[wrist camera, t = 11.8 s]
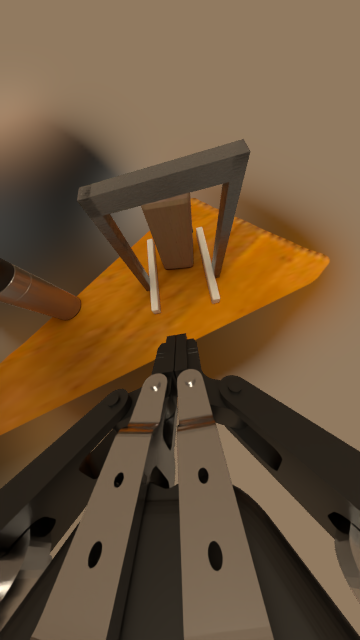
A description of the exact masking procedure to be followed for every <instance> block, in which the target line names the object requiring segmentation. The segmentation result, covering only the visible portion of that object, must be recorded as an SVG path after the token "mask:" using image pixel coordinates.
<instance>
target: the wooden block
mask: <svg viewBox="0 0 360 640" xmlns="http://www.w3.org/2000/svg"><path fill="white" fill-rule="evenodd" d="M141 207H142V210H143V213H144V215H145V218H146V221H147V223H148V226H149V228H150V231H151V234H152V236H153V239H154V242H155V244H156V247H157V249H158V252H159V255H160V257H161V260H162V262H163V265H164V267H165V269H174V268H186V267H192V265H193V238H192V220H191V202H190V193H186V194H182V195H179V196H175V197H171V198H167V199H164V200H160V201H156V202H152V203H149V204H145V205H141Z"/></svg>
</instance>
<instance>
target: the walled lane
mask: <svg viewBox="0 0 360 640" xmlns="http://www.w3.org/2000/svg"><path fill="white" fill-rule="evenodd" d="M196 235H197V239H198V244H199V248H200V253H201V257H202V261H203V266H204V270H205V274H206V279H207V283H208V288H209V292H210V296H211V301H212V304H213V303H218V302H219V301H220V296H219V292H218V288H217V284H216V280H215V276H214V272H213V268H212V264H211V260H210V256H209V253H208V249H207V245H206V241H205V237H204V233H203V229H202V227H199V228H196ZM147 247H148V262H149V277H150V292H151V307H152V312H153V313H154V314H156V313H161V310H160V299H159V288H158V277H157V266H156V255H155V244H154V242H153V239H149V240H147Z"/></svg>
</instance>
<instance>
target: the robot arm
mask: <svg viewBox="0 0 360 640" xmlns="http://www.w3.org/2000/svg"><path fill="white" fill-rule="evenodd" d="M0 302H3V303H6V304H10V305H13V306H17V307H20V308H24V309H27V310H31V311H34V312H38V313H41V314H45V315H48V316H52V317H55V318H59V319H62V320H69V319H71V318H73V317H74V316H75V315H76V314H77V313H78V312H79V310H80V307H81V302H80V299H79V298H78V297H76V296H74V295H72V294H70V293H68V292H66V291H64V290H62V289H60V288H58V287H56V286H55V285H53V284H51V283H48V282H47V281H45V280H43V279H41V278H39V277H37V276H35V275H33V274H31V273H29V272H27V271H25V270H22V269H21V268H19V267H17V266H15V265H13V264H11V263H9V262H7V261H5V260H3V259H1V258H0ZM177 397H178V408H179V425H178V427H177V451H178V482H179V484H177V485H175V486H174V481H175V458H174V446H175V435H176V423H177V413H178V408H177ZM216 423H219V424H222V425H225V427H226V428H227V429H228V430H229V431H230V432H231V433H232V434H233V435H234V436H235V437H236V438H237V439H238V440H239V441H240V443H241V444H243V446H244V447H245V448H246V449H247V450H248V451H249V452H250V453H251V454H252V455H253V456H254V457H255V458H256V459H257V460H258V461H259V462H260V463H261V464H262V465H263V466H264V467H265V468H266V469H267V470H268V471H269V472H270V473H271V474H272V475H273V477H274V478H275V479H276V480H277V481H278V482H279V483H280V484H281V485H282V486H283V487H284V488H285V489H286V490H287V491H288V492H289V493H290V494H291V495H292V496H293V497H294V498H295V499H296V500H297V501H298V502H299V503H300V504H301V505H302V506H303V507H304V508H305V509H306V510H307V512H309V514H310V515H311V516H312V517H313V518H314V519H315V520H316V521H317V522H318V523H319V524H320V525H321V526H322V527H323V528H324V529H325V530H326V531H327V532H328V533H329V534H330V535H331V536H332V537H333V538H334V539H335V551H336V555H337V559H338V562H339V565H340V567H341V570H342V572H343V574H344V577H345V579H346V581H347V583H348V585H349V587H350V588H351V590H352V592H353V593H354V595H355V597H356V599H357V600H358V602H359V603H360V452H359V451H358V450H356V449H355V448H353V447H352V446H350V445H348V444H347V443H345V442H343V441H342V440H340V439H339V438H337V437H335V436H334V435H332V434H331V433H329V432H327V431H326V430H324V429H323V428H321V427H319V426H318V425H316V424H315V423H313V422H311V421H310V420H308V419H306V418H305V417H303V416H302V415H300V414H299V413H297V412H295V411H294V410H292V409H291V408H289V407H287V406H286V405H284V404H283V403H281V402H279V401H278V400H276V399H274V398H273V397H271V396H270V395H268V394H266V393H265V392H263V391H262V390H260V389H258V388H257V387H255V386H254V385H252V384H250V383H249V382H247V381H245V380H244V379H242V378H241V377H238V376H233V375H230V376H226V377H224V378H223V379H222V380H215V379H211V378H209V377H207V376H206V375H204V374H203V372H202V370H201V365H200V359H199V354H198V348H197V342H195V340H194V339H187V336H186V333H185V334H179V335H173V336H167V340H166V343H163V344H161V345H160V346H159V348H158V351H157V355H156V359H155V363H154V367H153V371H152V375H151V376H150V377H149V378H147V379H146V381H145V382H144V384H143V387H141V388H140V389H137V390H135V391H133V392H131V393H127V391H126V390H124V389H118V390H115V391H113V392H112V393H110V394H109V395H108V396H107V397H105V398H104V399H103V400H102V401H101V402H100V403H99V404H98V405H96V406H95V407H94V408H93V409H92V410H91V411H89V412H88V413H87V414H86V415H85V416H84V417H83V418H81V419H80V420H79V421H78V422H77V423H76V424H75V425H73V426H72V427H71V428H70V429H69V430H68V431H67V432H65V433H64V434H63V435H62V436H61V437H60V438H58V439H57V440H56V441H55V442H54V443H53V444H52V445H50V447H48V448H47V449H46V450H45V451H44V452H42V453H41V454H40V455H39V456H38V457H37V458H36V459H34V460H33V461H32V462H31V463H30V464H29V465H27V466H26V467H25V468H24V469H23V470H22V471H21V472H19V473H18V474H17V475H16V476H15V477H14V478H13V479H12V480H10V481H9V482H8V483H7V484H6V485H5V486H3V487H2V488H1V489H0V640H360V636H359V635H358V634H357V632H356V631H355V630H354V628H353V627H352V626H351V624H350V623H349V622H348V620H347V619H346V618H345V617H344V615H343V614H342V613H341V611H340V610H339V609H338V607H337V606H336V605H335V603H334V602H333V601H332V599H331V598H330V597H329V595H328V594H327V593H326V591H325V590H324V589H323V587H322V586H321V585H320V583H319V582H318V581H317V579H316V578H315V577H314V575H313V574H312V573H311V571H310V570H309V569H308V567H307V566H306V565H305V564H304V562H303V561H302V560H301V558H300V557H299V556H298V554H297V553H296V552H295V551H294V549H293V548H292V546H291V545H290V544H289V543H288V541H287V540H286V539H285V537H284V536H283V534H282V533H281V532H280V530H279V529H278V528H277V526H276V525H275V524H274V523H273V521H272V520H271V519H270V517H269V516H268V515H267V514H266V512H265V511H264V510H263V509H262V508H261V507H260V506H259V505H258V503H256V502H255V501H254V500H253V499H252V498H251V497H250V496H249V495H248V494H246V493H245V492H244V491H242V490H241V489H240V488H238V487H236V486H234V485H232V482H231V478H230V475H229V471H228V467H227V464H226V460H225V456H224V452H223V449H222V445H221V441H220V438H219V434H218V430H217V427H216ZM112 429H113V430H112ZM111 430H112V431H111ZM110 431H111V432H110ZM109 432H110V433H109ZM108 433H109V434H108ZM107 434H108V435H107ZM106 435H107V436H106ZM105 436H106V437H105ZM104 437H105V438H104ZM103 438H104V439H103ZM102 439H103V440H102ZM101 440H102V442H101V443H100V444H99V445H98V443H99V442H100V441H101ZM97 445H98V446H97ZM96 446H97V447H96ZM95 447H96V448H95ZM94 448H95V449H94ZM93 449H94V450H93ZM92 450H93V451H92ZM91 451H92V452H91ZM86 506H87V507H86ZM85 507H86V509H85V511H84V514H83V517H82V519H81V521H80V522H79V524H78V525H77V526H76V528H75V529H74V530H73V532H72V533H71V535H70V536H69V537H68V539H67V540H66V541H65V543H64V544H63V546H62V547H61V549H60V550H59V551H58V553H57V554H56V555H55V557H54V558H53V559H52V556H51V555H50V552H51V551H52V550H53V548H54V547H55V546H56V544H57V543H58V542H59V541H60V539H61V538H62V537H63V536H64V534H65V533H66V532H67V530H68V529H69V528H70V526H71V525H72V524H73V523H74V521H75V520H76V519H77V517H78V516H79V515H80V513H81V512H82V511H83V510H84V508H85Z"/></svg>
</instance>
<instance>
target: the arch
mask: <svg viewBox="0 0 360 640" xmlns="http://www.w3.org/2000/svg"><path fill="white" fill-rule="evenodd" d="M249 155H250V150H249V148H248V146H247V144H246V143H245V141H244V139H242V140H239V141H235V142H232V143H229V144H226V145H222V146H218V147H215V148H212V149H208V150H205V151H202V152H198V153H195V154H192V155H188V156H185V157H181V158H178V159H174V160H171V161H168V162H164V163H161V164H158V165H155V166H151V167H147V168H144V169H141V170H137V171H134V172H131V173H127V174H124V175H120V176H117V177H114V178H111V179H107V180H103V181H100V182H97V183H93V184H90V185H87V186H83V187H80V188H79V192H78V198H77V201H78V203H79V204H80V205H81V206H82V208H83V209H84V210H85V212H86V213H87V214H88V216H89V217H90V218H91V220H92V221H93V222H94V223H95V225H96V226H97V227H98V229H99V230H100V231H101V232H102V234H103V235H104V236H105V238H106V239H107V240H108V241H109V243H110V244H111V245H112V247H113V248H114V249H115V250H116V252H117V253H118V254H119V256H120V257H121V258H122V260H123V261H124V262H125V263H126V265H127V266H128V267H129V269H130V270H131V271H132V272H133V274H134V275H135V276H136V278H137V279H138V280H139V282H140V283H141V284H142V285H143V287H144V288H145V289H146V291H150V278H149V276H148V275H147V273H146V272H145V270H144V268H143V267H142V265H141V264H140V262H139V260H138V259H137V257H136V255H135V254H134V252H133V251H132V249H131V247H130V246H129V244H128V242H127V241H126V239H125V238H124V236H123V235H122V233H121V231H120V230H119V228H118V226H117V225H116V223H115V221H114V220H113V218H112V217H111V215H110V214H111V213H115V212H119V211H122V210H126V209H129V208H133V207H137V206H141V205H145V204H149V203H152V202H156V201H160V200H164V199H167V198H171V197H175V196H179V195H182V194H186V193H190V192H193V191H197V190H201V189H205V188H209V187H212V186H216V185H220V184H223V185H222V193H221V200H220V208H219V215H218V223H217V230H216V237H215V245H214V252H213V260H212V268H213V272H214V276H215V278H218V277H219V276H220V272H221V268H222V264H223V260H224V256H225V252H226V248H227V244H228V240H229V236H230V232H231V228H232V224H233V219H234V215H235V211H236V207H237V203H238V199H239V195H240V191H241V187H242V182H243V179H244V175H245V171H246V166H247V162H248V159H249Z"/></svg>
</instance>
